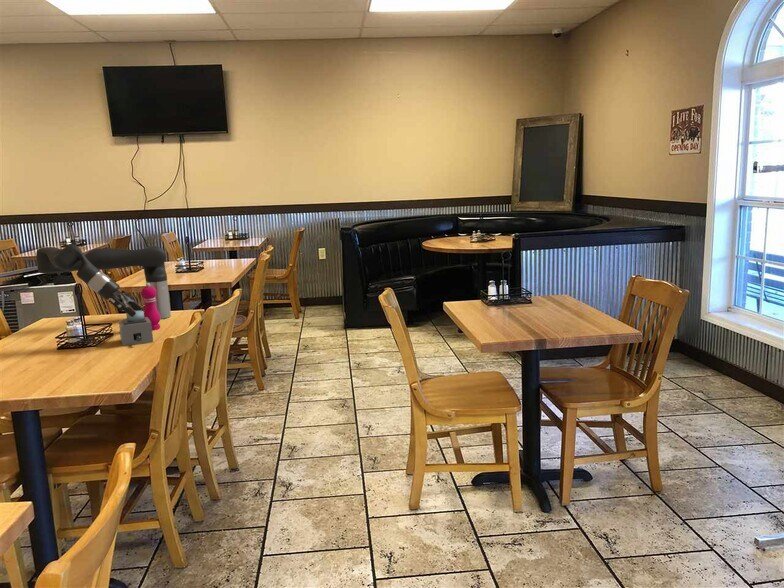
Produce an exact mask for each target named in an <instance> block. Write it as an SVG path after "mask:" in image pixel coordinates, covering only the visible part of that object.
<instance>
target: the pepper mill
mask: <svg viewBox="0 0 784 588" xmlns="http://www.w3.org/2000/svg"><path fill="white" fill-rule="evenodd" d="M140 295H141V297H143V301H142V303H144V310H143V311H144V317H148V318H149V320H150V321H151V326H152V331H156V330H160V329H161V324H160V321H161V319H160V315H159V313H158V311H157V309H156V307H155V301H156V300H155V299H156V298H155V295H156V290H155V288H153V287H150V284H149V283H147V284H146V283H145V287H143V288H142V289H141V291H140Z"/></svg>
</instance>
